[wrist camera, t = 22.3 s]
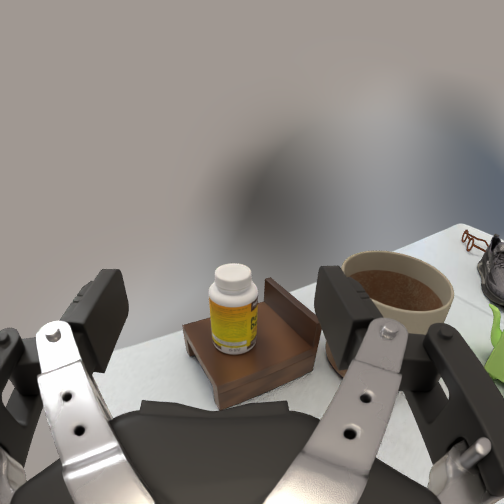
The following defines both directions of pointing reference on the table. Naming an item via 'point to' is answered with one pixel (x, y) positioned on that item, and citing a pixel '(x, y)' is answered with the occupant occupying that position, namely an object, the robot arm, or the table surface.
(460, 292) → the table surface
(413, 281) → the planter
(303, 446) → the robot arm
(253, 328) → the supplement bottle
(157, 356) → the table surface
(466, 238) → the glasses
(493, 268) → the shoe
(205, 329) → the shelf
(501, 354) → the teapot
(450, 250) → the table surface
